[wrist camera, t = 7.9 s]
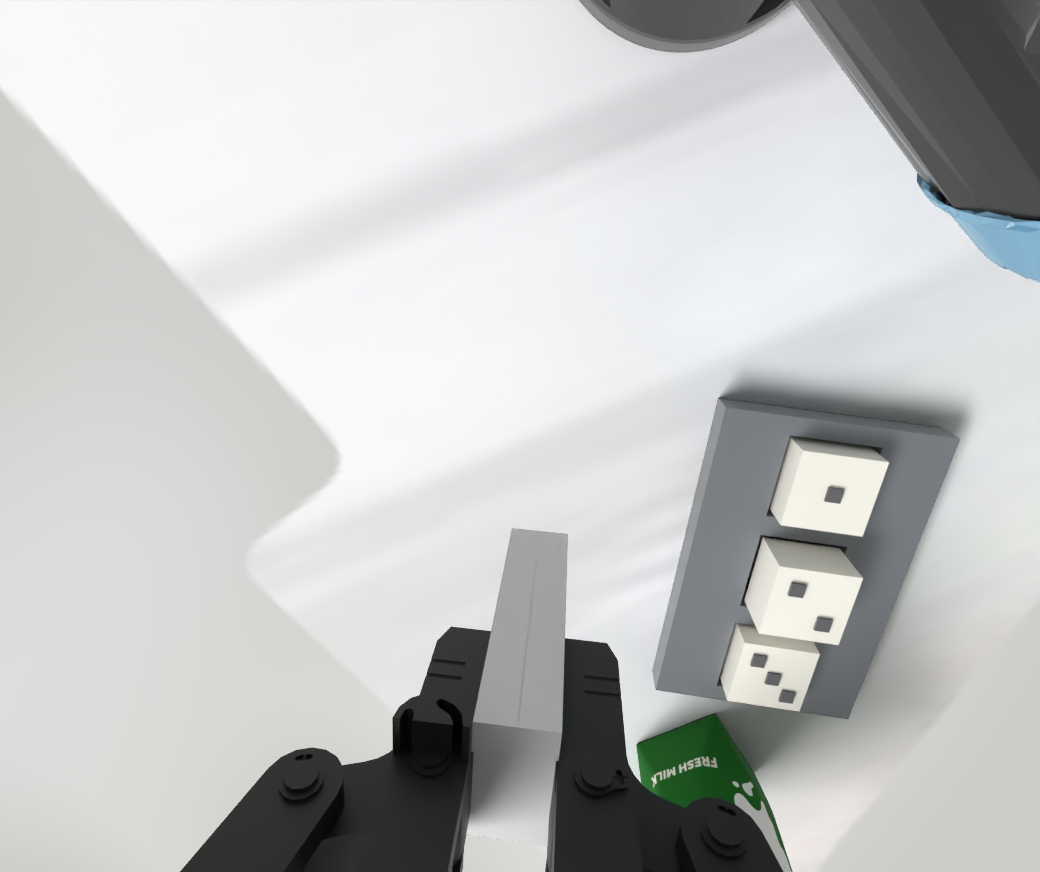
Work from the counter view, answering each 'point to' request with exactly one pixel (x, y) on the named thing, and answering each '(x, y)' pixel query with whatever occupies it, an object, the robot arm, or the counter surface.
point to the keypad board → (746, 516)
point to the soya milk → (707, 774)
